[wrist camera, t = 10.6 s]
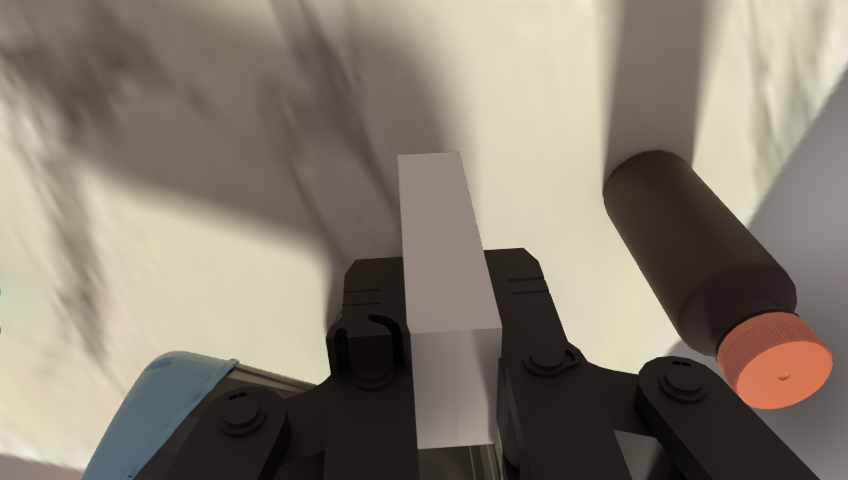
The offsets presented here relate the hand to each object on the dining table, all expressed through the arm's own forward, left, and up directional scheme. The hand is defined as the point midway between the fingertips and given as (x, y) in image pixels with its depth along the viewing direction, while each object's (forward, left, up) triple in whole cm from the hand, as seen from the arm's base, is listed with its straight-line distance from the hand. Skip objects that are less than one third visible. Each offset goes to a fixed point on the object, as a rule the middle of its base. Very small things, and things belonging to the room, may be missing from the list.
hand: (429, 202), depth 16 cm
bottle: (-16, -18, -29) cm, 37 cm away
